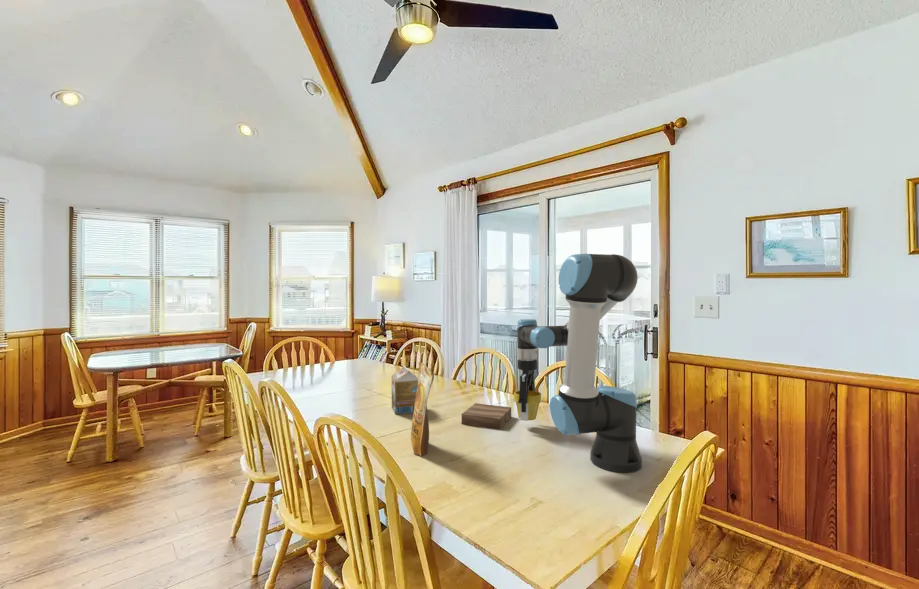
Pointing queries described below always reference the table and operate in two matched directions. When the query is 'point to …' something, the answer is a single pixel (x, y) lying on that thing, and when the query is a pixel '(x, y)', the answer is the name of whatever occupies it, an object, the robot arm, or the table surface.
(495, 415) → the block
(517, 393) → the plant pot
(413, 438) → the pancake mix bag
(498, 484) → the table surface
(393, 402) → the milk carton
